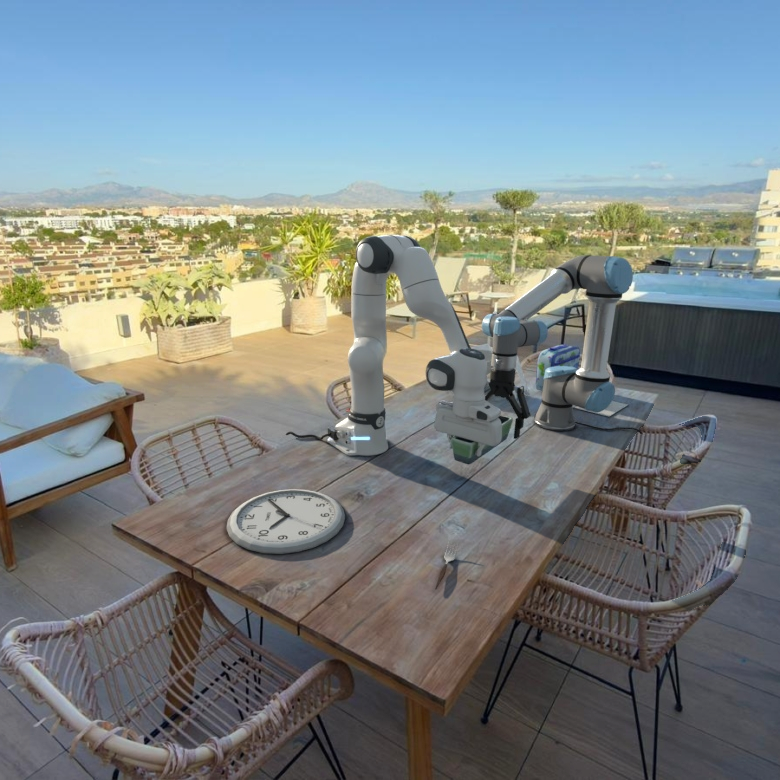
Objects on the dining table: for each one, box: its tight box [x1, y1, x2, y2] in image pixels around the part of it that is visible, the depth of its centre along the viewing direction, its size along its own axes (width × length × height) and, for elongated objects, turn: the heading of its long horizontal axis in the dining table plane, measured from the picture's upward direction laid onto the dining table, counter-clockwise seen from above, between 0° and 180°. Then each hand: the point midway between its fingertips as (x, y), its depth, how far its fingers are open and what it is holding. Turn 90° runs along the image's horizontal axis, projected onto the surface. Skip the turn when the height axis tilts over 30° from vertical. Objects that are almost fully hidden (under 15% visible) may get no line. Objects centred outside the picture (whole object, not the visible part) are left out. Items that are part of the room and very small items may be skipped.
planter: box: [451, 415, 514, 465], centre depth 159 cm, size 28×7×7 cm, turn 143°
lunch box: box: [535, 344, 581, 392], centre depth 247 cm, size 26×11×21 cm, turn 134°
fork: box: [434, 542, 459, 590], centre depth 116 cm, size 3×16×2 cm, turn 160°
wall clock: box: [226, 488, 346, 555], centre depth 135 cm, size 30×2×30 cm
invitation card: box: [573, 400, 629, 418], centre depth 226 cm, size 21×1×15 cm
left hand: (465, 451), depth 151 cm, fingers closed on planter, 6 cm apart
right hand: (497, 432), depth 168 cm, fingers open, 12 cm apart
